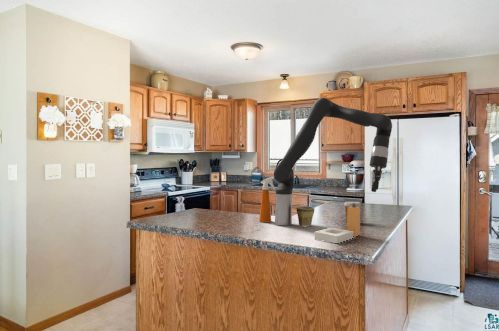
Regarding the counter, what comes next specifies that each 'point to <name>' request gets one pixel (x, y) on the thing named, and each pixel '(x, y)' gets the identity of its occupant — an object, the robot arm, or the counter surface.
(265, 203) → the spray bottle
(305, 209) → the olive green flower pot
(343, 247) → the counter surface
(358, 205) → the disposable coffee cup
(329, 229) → the socket
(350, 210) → the plug
